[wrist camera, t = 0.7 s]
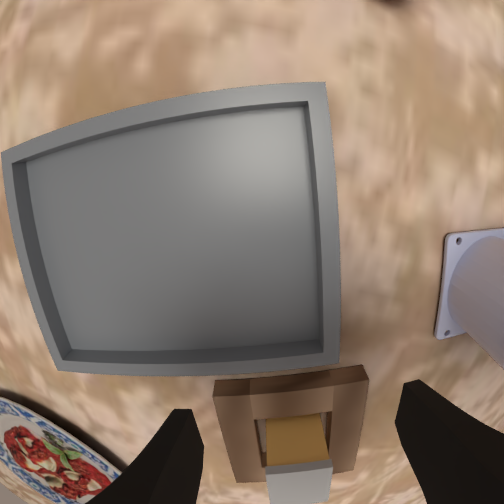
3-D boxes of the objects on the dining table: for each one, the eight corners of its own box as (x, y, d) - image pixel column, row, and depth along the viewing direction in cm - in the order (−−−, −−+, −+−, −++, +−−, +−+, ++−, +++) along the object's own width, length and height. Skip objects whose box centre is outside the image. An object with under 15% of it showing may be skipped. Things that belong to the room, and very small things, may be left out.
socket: (362, 364, 21) (369, 379, 19) (349, 456, 24) (353, 470, 22) (215, 380, 21) (212, 396, 19) (237, 468, 24) (236, 482, 23)
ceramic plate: (95, 518, 32) (90, 530, 29) (-30, 417, 27) (-39, 428, 24) (196, 498, 27) (193, 518, 24) (7, 348, 22) (-10, 364, 19)
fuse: (318, 402, 22) (333, 467, 16) (317, 442, 23) (328, 501, 17) (264, 408, 22) (265, 474, 16) (269, 447, 23) (271, 507, 17)
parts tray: (317, 90, 16) (325, 81, 14) (332, 344, 20) (339, 363, 18) (20, 151, 17) (1, 152, 15) (70, 355, 21) (57, 370, 19)
